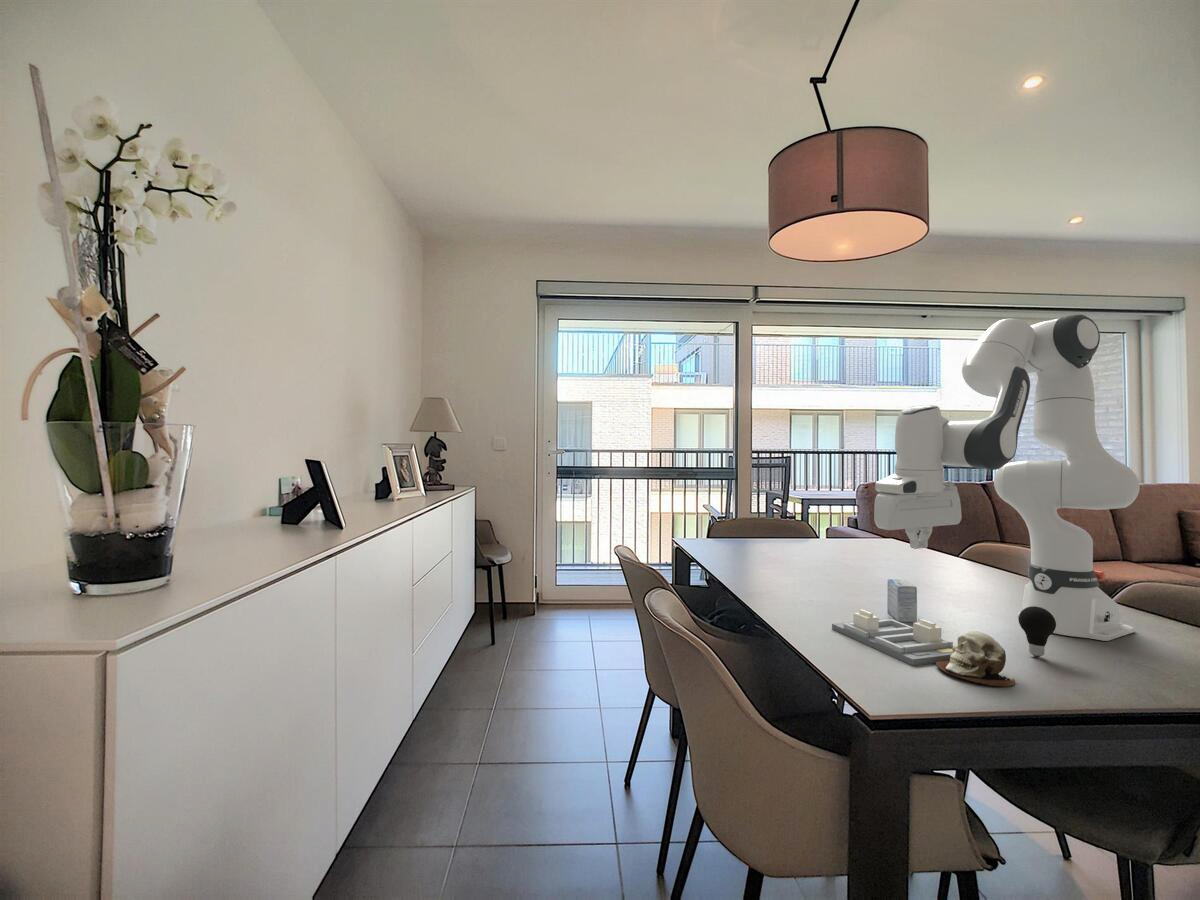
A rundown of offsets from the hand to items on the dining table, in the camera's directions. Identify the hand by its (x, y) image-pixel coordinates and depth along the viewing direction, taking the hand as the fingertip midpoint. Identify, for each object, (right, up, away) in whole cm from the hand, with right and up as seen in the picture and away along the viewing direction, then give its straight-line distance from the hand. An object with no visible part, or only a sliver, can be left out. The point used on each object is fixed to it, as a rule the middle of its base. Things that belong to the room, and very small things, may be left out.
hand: (918, 548), depth 116 cm
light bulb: (+20, -21, -7) cm, 29 cm away
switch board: (-5, -20, +1) cm, 21 cm away
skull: (+1, -21, -15) cm, 26 cm away
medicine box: (+7, -21, +19) cm, 29 cm away
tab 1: (-9, -19, +4) cm, 21 cm away
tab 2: (0, -19, -3) cm, 19 cm away
